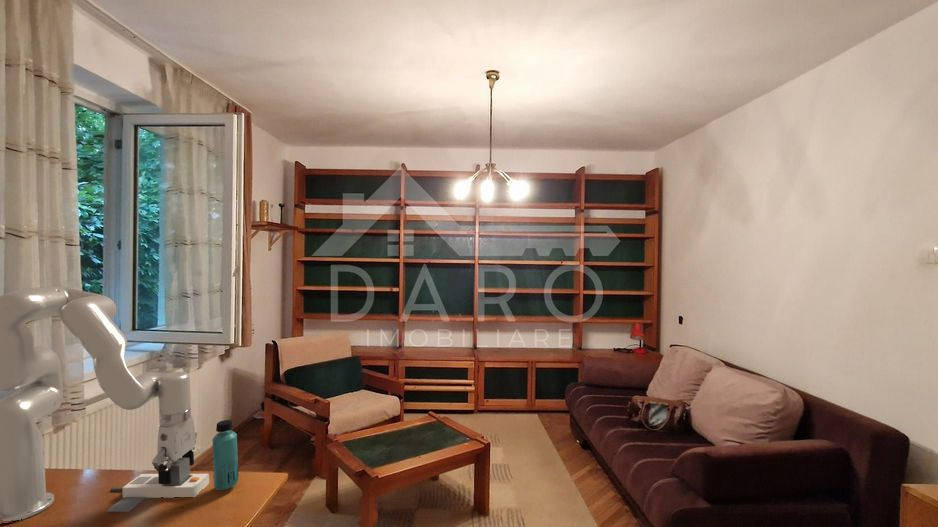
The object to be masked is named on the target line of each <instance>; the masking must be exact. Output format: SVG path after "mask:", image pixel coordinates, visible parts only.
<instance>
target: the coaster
mask: <svg viewBox="0 0 938 527" xmlns="http://www.w3.org/2000/svg"><path fill="white" fill-rule="evenodd" d="M146 499H147V498H146V497H124V498H123V497H122V498H121V499H120V500H119V501H117V502H116V503H114V504H113V505H112V506H110V508H108V509H106V513H130V512H131V511H132V510H134V509H135V508H136V507H137V506H139V505H140V504H141V503H142V502H144V501H145V500H146Z"/></svg>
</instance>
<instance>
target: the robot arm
mask: <svg viewBox="0 0 938 527" xmlns="http://www.w3.org/2000/svg"><path fill="white" fill-rule="evenodd" d="M117 312H118V311H117V305H116V303H115V302H114V300H112V299H111V298H110V297H108V296H106V295H103V294H100V293H94V292H90V291H89V292H88V291H84V290H81V289H76V288H75V289H74V288H70V287H64V286H60V285H59V286H58V285H48V286H46V285H45V286H40V287H33V288H32V287H31V288H25V289H24V288H23V289H17V290H14V291H9V292H7V293H4V294H2V295H0V392H9V391H10V392H11V391H15V390H18V389H20V390H19V391H16V392H13V393H12V394H10V395H6V396H4V397H2V398H0V520H3V521H11V520H19V521H22V520H25V519H27V518H28V519H29V518H30V517H32V516H35V515H37V514H39V513H41V512H43V511H44V510H45V509H47V508H49V507H50V506H51V505H52V504H53V503H54V501H55V495H54V494H53V493H52V492H47V489H46V488H47V486H46V468H45V467H46V466H45V447H44V446H45V444H44V437H43V434H42V433H41V432H42V431H40V428H39V427H38V426H37V425H38V424H37V422H39V421H41V420H42V419H44V418H46V417H49V415H51V414H54V412H55V411H57V410H58V409H59V408H60V406H61V405H62V403H63V399H64V387H63V386H64V385H63V376H62V375H63V374H62V366H61V365H62V364H61V360H60V358H59V356H58V355H57V353H56V352H55V351H54V350H53V349H51V348H49V347H47V346H37V345H36V346H34V335H33V332H32V331H31V329H30V328H29V327H28V326H29V325H27V323H29V322H32V321H35V320H40V319H45V318H46V319H47V318H49V317H54V316H55V317H56V316H57V317H59V318H60V321H61V322H62V323H63V325H64V326H65V327H66V328H67V330H68V331H69V332H70V334H72V335H73V337H74V338H75V339H76V340H77V341H78V342H79V344H80V345H81V346H82V348H83V349H84V350H86V352H87V353H88V354H89V356H90V357H91V359H92V361H93V362H92V363H93V364H92V365H93V371H94V374H95V377H96V380H97V383H98V385H99V387H100V389H102V391H103V392H104V393H105V395H106V396H107V397H108V398H109V399H110V400H111V402H113V403H114V404H115V405H116V406H117V407H119V408H121V409H123V410H127V411H132V410H137V409H139V408H141V407H143V406H144V405H145V404H147V403H149V402H150V401H151V400H153V399H155V398H157V400H158V415H159V416H158V419H159V420H158V424H159V426H158V434H157V448H156V449H157V454H156V456H154V458H153V459H152V461H151V463H152V465H153V467H154V469H155V470H156V472H158V473H157V474H158V478H159V484H170V483H171V482H172V479H171V469H169V468H170V466H171V463H172V461H176V460H178V459H179V458H189V463H190V467H192V466H193V465H194V464H195V453H194V451H195V449H196V447H195V446H196V445H197V444H196V443H197V437H198V432H196V429H195V428H196V427H195V424H194V419H193V415H192V410H191V409H192V408H191V403H192V401H191V379H190V378H191V377H190V374H189V373H188V372H185V371H174V372H168V373H167V372H155V371H148V372H142V373H141V374H139V375H138V376H133V374H132V373H131V372H130V370H129V368H128V367H127V365H126V361H125V352H126V349H127V345H128V338H127V337H126V335H125V334H124V333H123V332H122V331H121V329H120V328H119V327H118V326H117V324H116V323H115V322H114V321H113V319H114V318H115V316H116V314H117ZM165 462H166V463H165ZM164 463H165V464H166V466H165V464H164ZM21 519H22V520H21Z"/></svg>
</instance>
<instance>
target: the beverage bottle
mask: <svg viewBox="0 0 938 527" xmlns="http://www.w3.org/2000/svg"><path fill="white" fill-rule="evenodd" d="M232 429H233V421H232V420H231V419H225V420H221V421H218V422H217V423H216V429H215V431H216V432H218V433H216V435H215V436H214V437H213V438H212V439H211V440H212V454H213V456H212V459H213V460H212V464H213V466H212V470H213V471H212V472H213V480H212V481H213V482H212V484H213V487H214V489H215V490H217V491H218V490H219V491H220V490H221V491H222V490H228V489H230V488H233V487H234V486H236V485H237V484H238V482H239V476H240V475H239V472H240V471H239V464H238V463H239V460H238V458H239V457H238V447H239V446H238V434H237V433H236V432H235V431H233V430H232Z"/></svg>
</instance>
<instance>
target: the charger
mask: <svg viewBox="0 0 938 527" xmlns="http://www.w3.org/2000/svg"><path fill="white" fill-rule="evenodd" d="M166 464H167V463H165V464H164V465H165V466H166ZM190 467H191V466H190V463H189V458H182V457H180V458H179V459H178V460H176V461H172V463H171V466H170V468H169V469H171V479H172V482H171V483H170V484H164V486H181V485H182V484H183V483H185V482H186V481H187V480H188V479H189V478H190V474H191V470H190V469H191V468H190Z"/></svg>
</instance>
